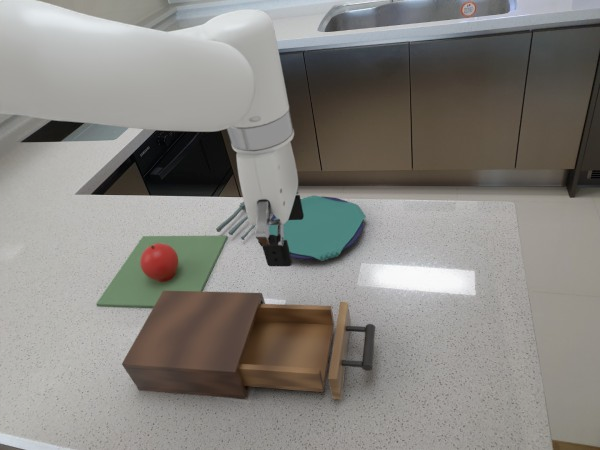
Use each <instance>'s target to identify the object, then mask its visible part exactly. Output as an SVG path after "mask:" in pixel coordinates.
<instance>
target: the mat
mask: <svg viewBox="0 0 600 450" xmlns="http://www.w3.org/2000/svg"><path fill="white" fill-rule="evenodd" d="M227 240H228V235H143V236H142V237H141V238H140V240H139V242H137V244H136V246H135V247H134V248H133V250H132V252H131V253H130V255H129V256H128V257H127V259H126V260H125V262H124V263H123V264H122V266H121V267H120V269H119V270H118V272H117V273H116V275H115V276H114V277H113V279H112V280H111V282H110V283H109V284H108V286H107V287H106V289H105V291H104V292H103V293H102V295H101V296H100V298H99V299H98V301H97V302H96V303H95V305H96V306H97V307H113V308H114V307H117V308H144V309H145V308H146V309H153V308H154V306H155V304H156V302H157V301H158V299H159V297H160V295H161V293H162V292H163V291H204V288H205V286H206V284H207V282H208V280H209V277H210V276H211V273H212V272H213V269H214V267H215V265H216V263H217V262H218V259H219V257H220V255H221V252H222V250H223V249H224V247H225V244H226V242H227ZM157 243H163V244H167V245H169V246H170V247H172V248H173V249H174V250H175V252H176V253H177V256H178V267H177V269H176V273H175V275H174V277H173V278H171V279H170V280H168V281H165V282H159V281H157V280H154V279H151V278H149V277H148V276H146V275H145V274H144V272H143V271H142V269H141V265H140V259H141V255H142V253H143V252H144V250H145V249H146V248H147V247H149V246H151V245H153V244H157Z"/></svg>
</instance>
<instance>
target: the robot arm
mask: <svg viewBox="0 0 600 450" xmlns="http://www.w3.org/2000/svg"><path fill="white" fill-rule="evenodd" d="M282 67H283V66H282V62H281V57H280V52H279V46H278V41H277V36H276V31H275V27H274V23H273V21H272V18H271V16H270V15H268V14H267V12H265V11H263V10H261V9H256V8H246V9H238V10H233V11H228V12H225V13H222V14H219V15H216V16H214V17H212V18H210V19H209V20H207V21H206V22H205V23H203V24H199V25H194V26H191V27H186V28H181V29H176V30H171V31H166V30H165V31H164V30H159V29H155V28H149V27H145V26H140V25H134V24H130V23H126V22H120V21H115V20H111V19H107V18H102V17H99V16H95V15H94V16H93V15H90V14H87V13H82V12H78V11H75V10H72V9H68V8H65V7H62V6H59V5H55V4H52V3H49V2H46V1H41V0H0V115H12V116H23V117H30V118H34V119H35V118H36V119H43V120H47V121H48V120H50V121H57V122H69V123H71V122H72V123H83V124H91V125H92V124H95V125H102V126H111V127H119V128H128V129H137V130H147V131H148V130H150V131H162V132H163V131H164V132H196V133H198V132H199V133H200V132H201V133H204V132H205V133H210V132H211V133H212V132H213V133H214V132H220V131H223V130H226V131H227V135H228V139H229V142H230V145H231V149H232V150H233V151H234V152H236V154H235V156H236V157H235V158H236V168H237V175H238V180H239V185H240V190H241V195H242V199H243V202H244V204H245V208H246V209H245V212H246V216H248V219H247V220H248V222H249V224H250V225H251V227H252V226H255V225H256V226H255V227H254V228H255V229H254V237H255V239H257V242H258V243H259V245H260V247H262V250H263V254H264V258H265V261H266V264H267V266H268V267H291V266H292V265H293V260H292V257H291V255H290V251H289V247H288V242H287V240H284V224H285V223H286V222H287V221H288V220H302V219H303V217H304V214H303V209H302V204H301V199H302V198H301V195H300V194H299V193H300V191H299V190H300V188H299V175H298V169H297V163H296V159H295V155H294V151H293V146H292V143H291V142H292V141H293V139H294V136H295V129H294V124H293V119H292V114H291V108H290V104H289V100H288V99H289V98H288V93H287V88H286V83H285V78H284V72H283V68H282ZM273 215H275V217H276V218H277V219H278V220H270V219H271V216H273ZM269 225H277V236H276V235H271V234H270V231H269Z"/></svg>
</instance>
